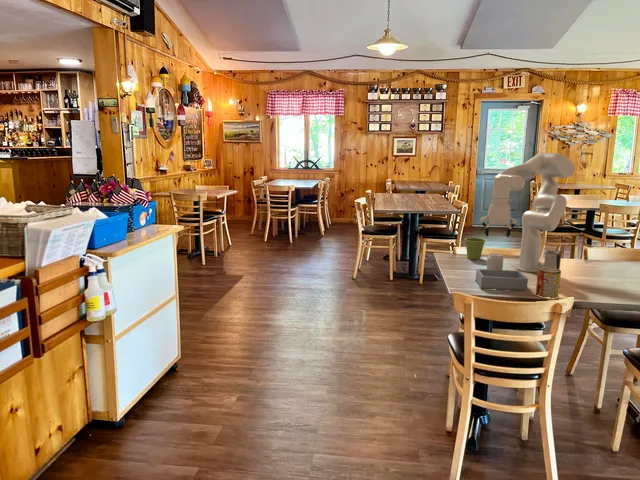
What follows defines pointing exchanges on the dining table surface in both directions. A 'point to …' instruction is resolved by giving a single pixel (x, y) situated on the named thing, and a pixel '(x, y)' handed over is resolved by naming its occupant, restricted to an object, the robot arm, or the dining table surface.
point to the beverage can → (548, 282)
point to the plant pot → (474, 247)
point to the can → (495, 261)
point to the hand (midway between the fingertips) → (497, 236)
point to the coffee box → (552, 259)
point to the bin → (501, 280)
